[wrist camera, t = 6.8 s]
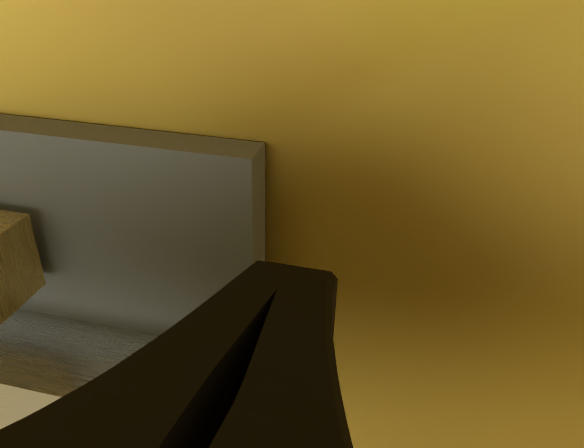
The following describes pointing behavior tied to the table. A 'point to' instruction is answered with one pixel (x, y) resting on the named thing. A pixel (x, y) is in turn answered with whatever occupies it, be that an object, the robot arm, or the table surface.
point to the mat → (132, 217)
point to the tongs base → (55, 358)
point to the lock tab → (17, 263)
